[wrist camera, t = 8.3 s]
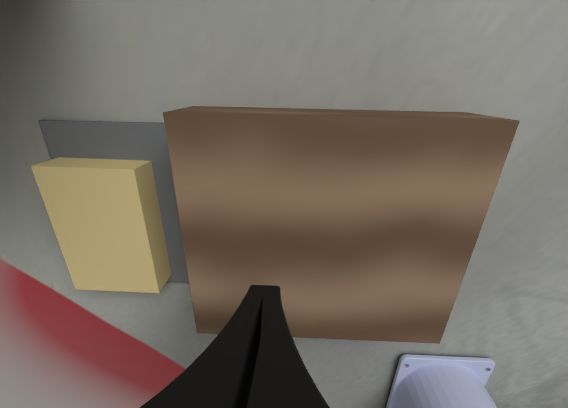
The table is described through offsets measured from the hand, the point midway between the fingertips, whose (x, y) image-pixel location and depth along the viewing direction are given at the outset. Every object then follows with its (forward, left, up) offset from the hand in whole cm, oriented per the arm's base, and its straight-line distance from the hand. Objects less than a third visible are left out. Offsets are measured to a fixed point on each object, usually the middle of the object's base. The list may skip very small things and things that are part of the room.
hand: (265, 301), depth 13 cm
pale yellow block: (0, +11, -5) cm, 12 cm away
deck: (+1, -3, -7) cm, 8 cm away
